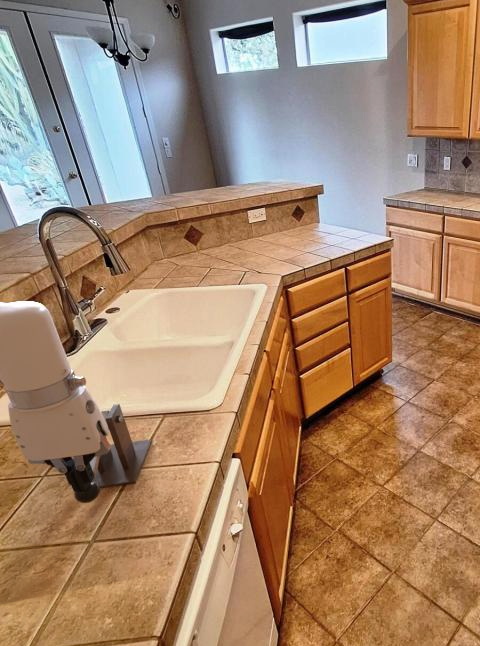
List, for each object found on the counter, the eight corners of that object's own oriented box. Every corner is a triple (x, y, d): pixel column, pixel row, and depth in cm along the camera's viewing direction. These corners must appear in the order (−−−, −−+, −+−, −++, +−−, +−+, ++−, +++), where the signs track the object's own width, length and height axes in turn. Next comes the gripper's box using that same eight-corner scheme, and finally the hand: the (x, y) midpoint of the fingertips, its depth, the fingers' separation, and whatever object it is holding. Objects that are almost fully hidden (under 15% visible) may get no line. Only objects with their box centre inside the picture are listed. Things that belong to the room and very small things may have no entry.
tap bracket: (136, 485, 78) (116, 429, 72) (80, 494, 76) (55, 437, 70) (153, 443, 88) (137, 391, 83) (104, 450, 86) (84, 397, 81)
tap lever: (101, 504, 70) (92, 497, 68) (78, 507, 70) (67, 501, 67) (118, 417, 80) (111, 408, 77) (97, 419, 79) (89, 410, 76)
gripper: (111, 369, 65) (142, 461, 74) (-4, 381, 62) (41, 476, 70) (93, 396, 59) (128, 494, 67) (-37, 410, 56) (17, 511, 64)
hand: (84, 484), depth 69 cm, fingers closed
